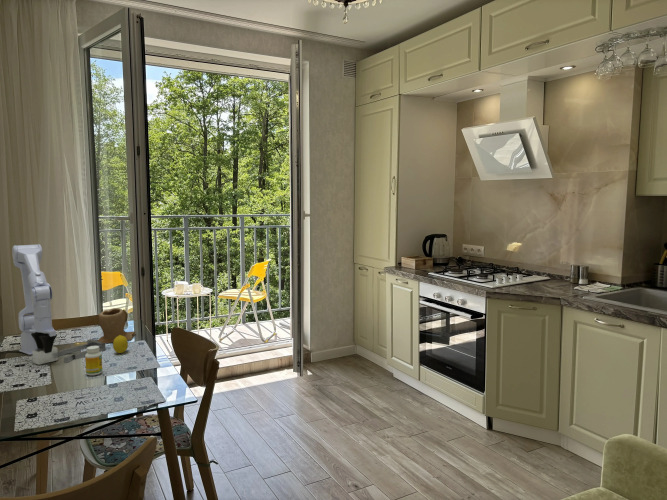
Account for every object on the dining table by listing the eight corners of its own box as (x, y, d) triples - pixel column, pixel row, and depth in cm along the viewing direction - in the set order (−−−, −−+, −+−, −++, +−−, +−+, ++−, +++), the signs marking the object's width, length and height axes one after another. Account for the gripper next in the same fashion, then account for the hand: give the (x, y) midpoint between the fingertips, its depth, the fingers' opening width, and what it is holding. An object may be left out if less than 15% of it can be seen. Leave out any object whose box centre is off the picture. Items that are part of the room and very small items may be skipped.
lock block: (32, 362, 184) (32, 349, 183) (51, 357, 189) (51, 345, 189) (38, 364, 181) (38, 351, 181) (57, 360, 187) (57, 347, 187)
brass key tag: (73, 346, 205) (73, 343, 205) (77, 345, 208) (77, 341, 207) (84, 347, 204) (84, 344, 204) (89, 346, 206) (89, 342, 206)
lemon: (122, 356, 192) (121, 337, 191) (110, 355, 193) (109, 336, 192) (131, 352, 197) (130, 333, 196) (119, 351, 198) (118, 332, 198)
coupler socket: (48, 357, 191) (48, 348, 191) (89, 346, 205) (89, 338, 205) (65, 363, 184) (65, 354, 184) (107, 351, 198) (106, 343, 198)
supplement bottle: (86, 371, 175) (84, 346, 174) (102, 369, 177) (101, 344, 176) (85, 376, 170) (84, 350, 169) (102, 374, 172) (101, 348, 171)
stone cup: (97, 348, 204) (95, 313, 202) (98, 340, 214) (97, 307, 213) (136, 343, 210) (134, 310, 208) (135, 336, 220) (134, 304, 219)
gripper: (22, 316, 184) (24, 350, 186) (41, 321, 176) (43, 357, 178) (42, 312, 190) (44, 346, 191) (60, 318, 182) (62, 352, 183)
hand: (44, 351), depth 185 cm, fingers closed on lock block, 4 cm apart
